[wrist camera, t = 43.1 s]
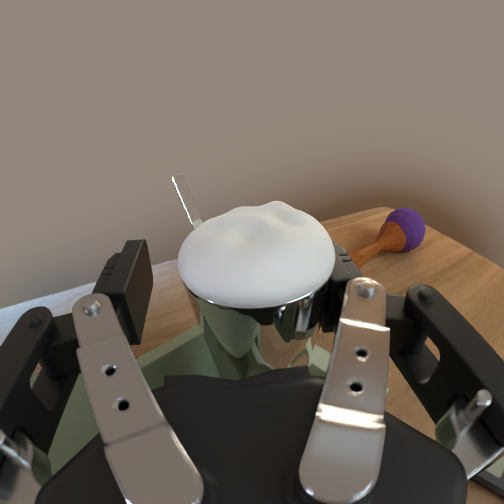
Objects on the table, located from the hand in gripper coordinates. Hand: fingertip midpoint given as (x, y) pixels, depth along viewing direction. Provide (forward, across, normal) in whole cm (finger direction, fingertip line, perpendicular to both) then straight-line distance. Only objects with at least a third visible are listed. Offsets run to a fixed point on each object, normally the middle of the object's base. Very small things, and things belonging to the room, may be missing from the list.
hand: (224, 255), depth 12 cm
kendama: (+19, -18, +14) cm, 30 cm away
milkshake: (-3, -1, +6) cm, 7 cm away
